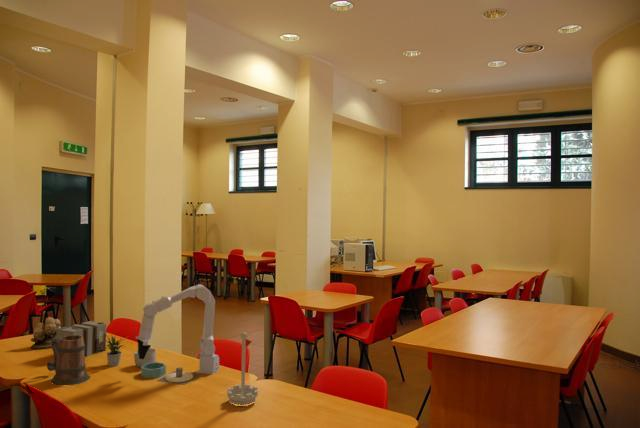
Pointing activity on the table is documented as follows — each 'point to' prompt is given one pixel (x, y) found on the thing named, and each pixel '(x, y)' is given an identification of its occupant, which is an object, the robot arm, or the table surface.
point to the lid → (179, 376)
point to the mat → (178, 382)
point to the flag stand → (243, 382)
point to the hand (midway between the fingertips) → (140, 356)
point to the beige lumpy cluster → (45, 334)
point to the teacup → (149, 357)
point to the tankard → (68, 361)
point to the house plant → (113, 351)
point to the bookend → (87, 335)
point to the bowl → (153, 370)
